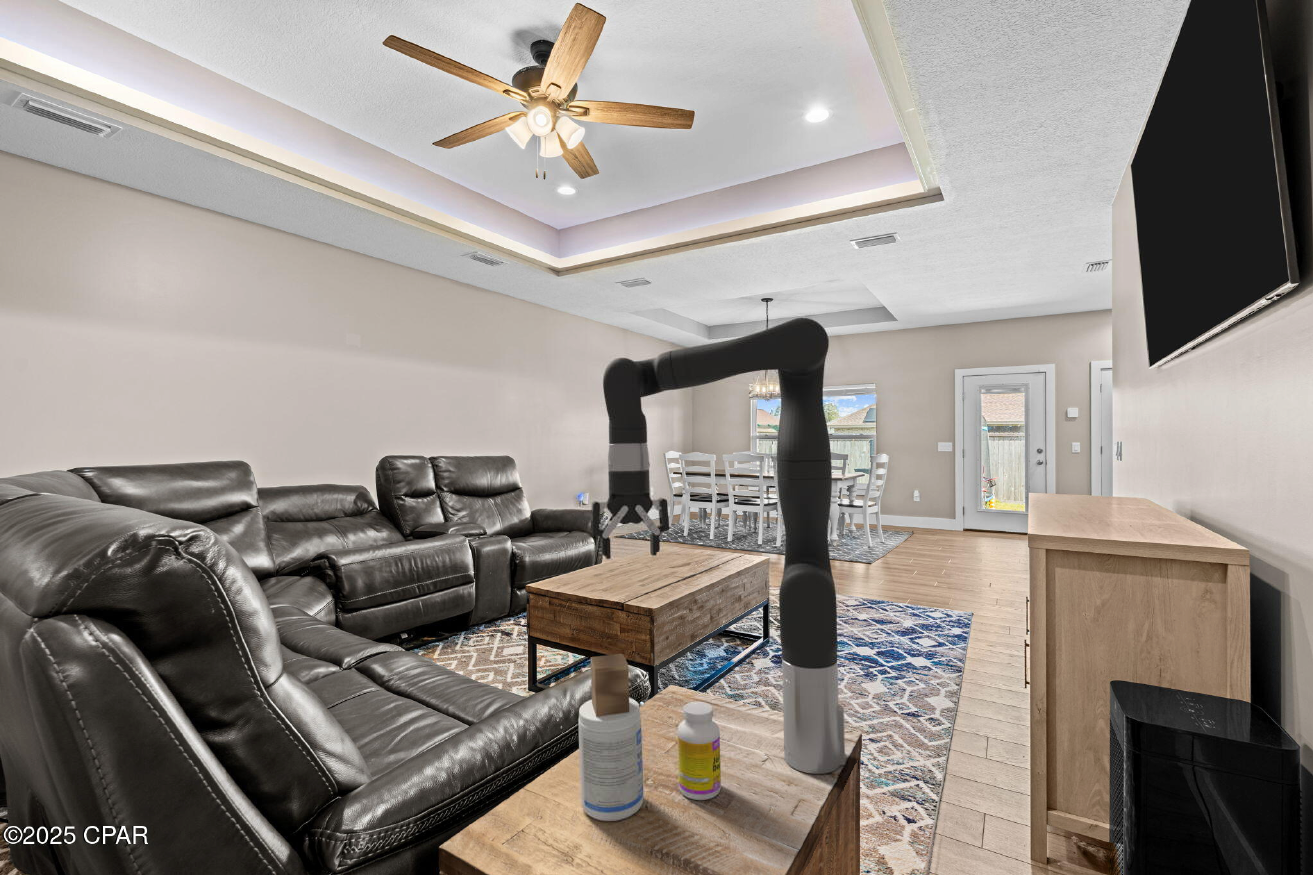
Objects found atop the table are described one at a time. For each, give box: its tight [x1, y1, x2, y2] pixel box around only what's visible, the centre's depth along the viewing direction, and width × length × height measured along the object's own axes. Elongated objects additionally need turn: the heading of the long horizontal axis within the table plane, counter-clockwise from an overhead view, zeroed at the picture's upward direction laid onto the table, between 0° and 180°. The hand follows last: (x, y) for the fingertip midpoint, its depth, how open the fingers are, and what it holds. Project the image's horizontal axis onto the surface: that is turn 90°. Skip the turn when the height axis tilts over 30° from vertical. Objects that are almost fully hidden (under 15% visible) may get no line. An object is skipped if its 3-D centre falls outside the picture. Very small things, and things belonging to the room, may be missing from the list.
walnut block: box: [590, 653, 630, 717], centre depth 91 cm, size 5×5×7 cm
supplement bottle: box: [677, 701, 722, 801], centre depth 94 cm, size 7×7×13 cm
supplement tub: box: [578, 697, 645, 822], centre depth 90 cm, size 10×10×15 cm
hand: (630, 556), depth 109 cm, fingers open, 8 cm apart
